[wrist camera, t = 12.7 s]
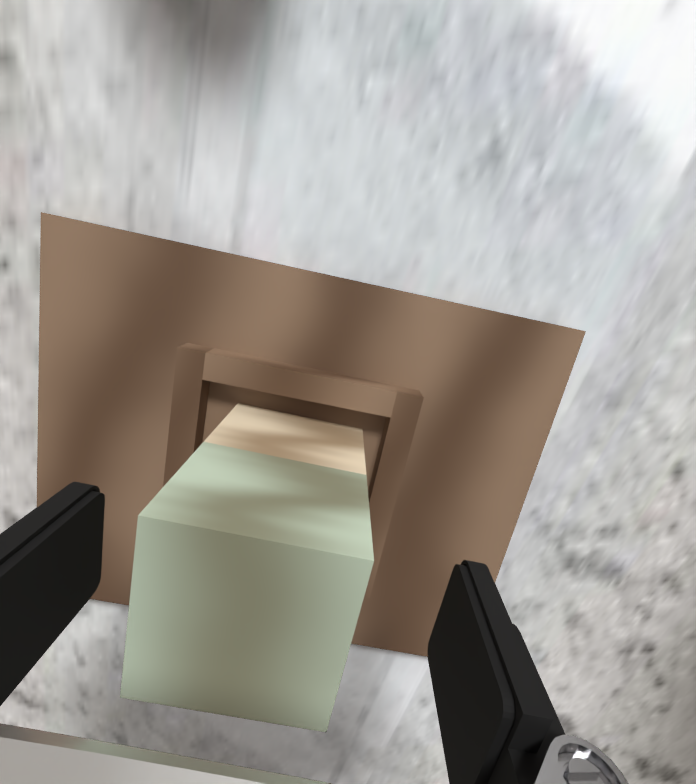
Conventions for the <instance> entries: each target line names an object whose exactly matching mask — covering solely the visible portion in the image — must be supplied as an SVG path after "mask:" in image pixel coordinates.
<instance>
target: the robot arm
mask: <svg viewBox="0 0 696 784" xmlns="http://www.w3.org/2000/svg"><path fill="white" fill-rule="evenodd" d="M104 509H105V495H104V494H103V493H100V489H99V487H98V486H95V485H90V484H85V483H80V482H72V483H70V484H69V485H67V486H66V487H64V488H63V489H62V490H60V491H59V492H58V493H56V494H55V495H53V496H52V497H51V498H49V499H48V500H47V501H45V502H44V503H42V504H41V505H40V506H38V507H37V508H36V509H34V510H33V511H31V512H30V513H29V514H27V515H26V516H25V517H23V518H22V519H20V520H19V521H18V522H16V523H15V524H13V525H12V526H11V527H9V528H8V529H7V530H5V531H4V532H2V533H1V534H0V706H1V705H2V703H3V702H4V701H5V700H6V699H7V697H8V696H9V695H10V694H11V693H12V691H13V690H14V689H15V688H16V687H17V685H18V684H19V683H20V682H21V681H22V679H23V678H24V677H25V676H26V675H27V673H28V672H29V671H30V670H31V669H32V667H33V666H34V665H35V664H36V663H37V661H38V660H39V659H40V658H41V657H42V655H43V654H44V653H45V652H46V651H47V649H48V648H49V647H50V646H51V645H52V643H53V642H54V641H55V640H56V639H57V637H58V636H59V635H60V634H61V633H62V631H63V630H64V629H65V628H66V626H67V625H68V624H69V623H70V622H71V620H72V619H73V618H74V617H75V616H76V614H77V613H78V612H79V611H80V610H81V608H82V607H83V606H84V605H85V604H86V602H87V601H88V600H89V599H90V598H91V596H92V595H93V594H94V593H95V591H96V590H97V588H98V586H99V583H100V580H101V569H102V549H103V529H104ZM427 653H428V662H429V667H430V673H431V679H432V685H433V691H434V696H435V702H436V708H437V714H438V719H439V725H440V731H441V737H442V743H443V748H444V754H445V760H446V766H447V771H448V777H449V783H450V784H628V782H627V780H626V779H625V777H624V775H623V774H622V772H621V771H620V770H619V769H618V767H617V766H616V765H615V764H614V763H613V761H612V760H611V759H610V758H609V757H608V756H606V755H605V754H604V753H603V752H602V751H601V750H600V749H599V748H597V747H596V746H594V745H593V744H591V743H590V742H588V741H587V740H584V739H582V738H579V737H577V736H574V735H565V733H564V730H563V728H562V726H561V724H560V721H559V719H558V717H557V715H556V712H555V710H554V708H553V706H552V703H551V701H550V699H549V696H548V694H547V692H546V690H545V687H544V685H543V683H542V681H541V678H540V676H539V674H538V672H537V669H536V667H535V665H534V663H533V660H532V658H531V656H530V653H529V651H528V649H527V647H526V644H525V642H524V640H523V638H522V635H521V633H520V631H519V630H518V628H517V626H515V625H514V624H512V622H511V620H510V617H509V615H508V613H507V610H506V608H505V606H504V603H503V601H502V599H501V597H500V594H499V592H498V590H497V587H496V585H495V583H494V580H493V578H492V576H491V573H490V571H489V569H488V567H487V565H486V564H484V563H479V562H474V561H469V560H463V561H462V562H461V565H460V564H456V565H455V566H454V568H453V571H452V574H451V577H450V579H449V582H448V585H447V588H446V591H445V594H444V597H443V600H442V603H441V606H440V609H439V612H438V615H437V618H436V621H435V624H434V627H433V630H432V633H431V636H430V639H429V642H428V650H427ZM0 784H331V783H326V782H321V781H315V780H310V779H305V778H300V777H294V776H289V775H284V774H278V773H273V772H268V771H262V770H257V769H251V768H246V767H241V766H235V765H230V764H224V763H219V762H213V761H208V760H203V759H197V758H192V757H186V756H181V755H175V754H170V753H164V752H159V751H153V750H148V749H142V748H137V747H131V746H125V745H120V744H114V743H108V742H103V741H97V740H91V739H86V738H80V737H74V736H69V735H63V734H57V733H52V732H46V731H40V730H35V729H29V728H23V727H18V726H12V725H6V724H0Z"/></svg>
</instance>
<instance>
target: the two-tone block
mask: <svg viewBox="0 0 696 784" xmlns="http://www.w3.org/2000/svg"><path fill="white" fill-rule="evenodd" d="M373 563H374V554H373V543H372V531H371V520H370V509H369V498H368V486H367V475H366V464H365V453H364V441H363V430H362V429H360V428H355V427H350V426H345V425H341V424H336V423H331V422H326V421H322V420H317V419H312V418H307V417H303V416H298V415H293V414H288V413H284V412H279V411H274V410H269V409H265V408H260V407H255V406H250V405H246V404H241V403H238V404H237V405H236V406H235V407H234V408H233V409H232V410H231V412H230V413H229V414H228V415H227V416H226V417H225V418H224V419H223V421H222V422H221V423H220V424H219V425H218V426H217V427H216V428H215V429H214V431H213V432H212V433H211V434H210V435H209V436H208V437H207V438H206V440H205V441H204V442H203V443H202V444H201V445H200V446H199V447H198V449H197V450H196V451H195V452H194V453H193V454H192V455H191V456H190V458H189V459H188V460H187V461H186V462H185V463H184V464H183V465H182V467H181V468H180V469H179V470H178V471H177V472H176V473H175V474H174V476H173V477H172V478H171V479H170V480H169V481H168V482H167V483H166V485H165V486H164V487H163V488H162V489H161V490H160V491H159V492H158V494H157V495H156V496H155V497H154V498H153V499H152V500H151V501H150V503H149V504H148V505H147V506H146V507H145V508H144V509H143V510H142V511H141V513H140V514H139V515H138V521H137V531H136V541H135V551H134V561H133V571H132V581H131V591H130V601H129V611H128V621H127V631H126V641H125V651H124V661H123V671H122V681H121V691H120V698H125V699H131V700H137V701H143V702H149V703H155V704H161V705H167V706H173V707H178V708H184V709H190V710H196V711H202V712H208V713H214V714H220V715H226V716H232V717H238V718H244V719H250V720H256V721H262V722H268V723H274V724H280V725H285V726H291V727H297V728H303V729H309V730H315V731H321V732H327V728H328V724H329V721H330V717H331V714H332V710H333V706H334V703H335V699H336V696H337V692H338V689H339V685H340V681H341V678H342V674H343V671H344V667H345V663H346V660H347V656H348V653H349V649H350V646H351V642H352V638H353V635H354V631H355V628H356V624H357V620H358V617H359V613H360V610H361V606H362V603H363V599H364V595H365V592H366V588H367V585H368V581H369V577H370V574H371V570H372V567H373Z"/></svg>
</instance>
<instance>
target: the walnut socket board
mask: <svg viewBox="0 0 696 784" xmlns="http://www.w3.org/2000/svg"><path fill="white" fill-rule="evenodd" d="M585 332H586V331H581V330H577V329H572V328H568V327H563V326H559V325H554V324H550V323H545V322H540V321H536V320H531V319H527V318H522V317H518V316H513V315H508V314H504V313H499V312H495V311H490V310H486V309H481V308H476V307H472V306H467V305H463V304H458V303H454V302H449V301H444V300H440V299H435V298H431V297H426V296H422V295H417V294H413V293H408V292H403V291H399V290H394V289H390V288H385V287H381V286H376V285H371V284H367V283H362V282H358V281H353V280H349V279H344V278H339V277H335V276H330V275H326V274H321V273H317V272H312V271H307V270H303V269H298V268H294V267H289V266H285V265H280V264H275V263H271V262H266V261H262V260H257V259H253V258H248V257H243V256H239V255H234V254H230V253H225V252H221V251H216V250H211V249H207V248H202V247H198V246H193V245H189V244H184V243H179V242H175V241H170V240H166V239H161V238H157V237H152V236H147V235H143V234H138V233H134V232H129V231H125V230H120V229H115V228H111V227H106V226H102V225H97V224H93V223H88V222H83V221H79V220H74V219H70V218H65V217H61V216H56V215H51V214H47V213H42V212H41V246H40V316H39V387H38V457H37V507H38V506H40V505H41V504H42V503H44V502H45V501H47V500H48V499H49V498H51V497H52V496H53V495H55V494H56V493H58V492H59V491H60V490H62V489H63V488H64V487H66V486H67V485H69V484H70V483H72V482H80V483H85V484H90V485H95V486H98V487H99V489H100V493H103V494H104V495H105V509H104V529H103V549H102V569H101V580H100V583H99V586H98V588H97V590H96V591H95V593H94V594H93V595H92V596H91V598H90V599H95V600H101V601H107V602H113V603H119V604H124V605H129V601H130V591H131V581H132V571H133V561H134V551H135V541H136V531H137V521H138V515H139V514H140V513H141V511H142V510H143V509H144V508H145V507H146V506H147V505H148V504H149V503H150V501H151V500H152V499H153V498H154V497H155V496H156V495H157V494H158V492H159V491H160V490H161V489H162V488H163V487H164V486H165V485H166V483H167V482H168V481H169V480H170V479H171V478H172V477H173V476H174V474H175V473H176V472H177V471H178V470H179V469H180V468H181V467H182V465H183V464H184V463H185V462H186V461H187V460H188V459H189V458H190V456H191V455H192V454H193V453H194V452H195V451H196V450H197V449H198V447H199V446H200V445H201V444H202V443H203V442H204V441H205V440H206V438H207V437H208V436H209V435H210V434H211V433H212V432H213V431H214V429H215V428H216V427H217V426H218V425H219V424H220V423H221V422H222V421H223V419H224V418H225V417H226V416H227V415H228V414H229V413H230V412H231V410H232V409H233V408H234V407H235V406H236V405H237V404H238V403H241V404H246V405H250V406H255V407H260V408H265V409H269V410H274V411H279V412H284V413H288V414H293V415H298V416H303V417H307V418H312V419H317V420H322V421H326V422H331V423H336V424H341V425H345V426H350V427H355V428H360V429H362V430H363V441H364V453H365V464H366V475H367V486H368V498H369V509H370V520H371V531H372V543H373V554H374V563H373V567H372V570H371V574H370V577H369V581H368V585H367V588H366V592H365V595H364V599H363V603H362V606H361V610H360V613H359V617H358V620H357V624H356V628H355V631H354V635H353V638H352V642H351V644H357V645H363V646H369V647H374V648H380V649H386V650H392V651H398V652H404V653H409V654H415V655H421V656H427V657H428V653H427V650H428V642H429V639H430V636H431V633H432V630H433V627H434V624H435V621H436V618H437V615H438V612H439V609H440V606H441V603H442V600H443V597H444V594H445V591H446V588H447V585H448V582H449V579H450V577H451V574H452V571H453V568H454V566H455V565H456V564H460V565H461V562H462V561H463V560H469V561H474V562H479V563H484V564H486V565H487V567H488V569H489V571H490V573H491V576H492V578H493V580H494V583H495V581H496V578H497V575H498V573H499V570H500V567H501V564H502V561H503V559H504V556H505V553H506V550H507V548H508V545H509V542H510V539H511V537H512V534H513V531H514V528H515V526H516V523H517V520H518V517H519V514H520V512H521V509H522V506H523V503H524V501H525V498H526V495H527V492H528V490H529V487H530V484H531V481H532V479H533V476H534V473H535V470H536V467H537V465H538V462H539V459H540V456H541V454H542V451H543V448H544V445H545V443H546V440H547V437H548V434H549V432H550V429H551V426H552V423H553V420H554V418H555V415H556V412H557V409H558V407H559V404H560V401H561V398H562V396H563V393H564V390H565V387H566V385H567V382H568V379H569V376H570V373H571V371H572V368H573V365H574V362H575V360H576V357H577V354H578V351H579V349H580V346H581V343H582V340H583V338H584V335H585Z"/></svg>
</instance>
